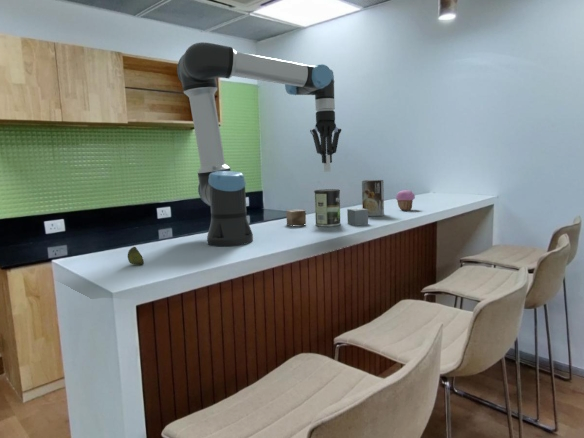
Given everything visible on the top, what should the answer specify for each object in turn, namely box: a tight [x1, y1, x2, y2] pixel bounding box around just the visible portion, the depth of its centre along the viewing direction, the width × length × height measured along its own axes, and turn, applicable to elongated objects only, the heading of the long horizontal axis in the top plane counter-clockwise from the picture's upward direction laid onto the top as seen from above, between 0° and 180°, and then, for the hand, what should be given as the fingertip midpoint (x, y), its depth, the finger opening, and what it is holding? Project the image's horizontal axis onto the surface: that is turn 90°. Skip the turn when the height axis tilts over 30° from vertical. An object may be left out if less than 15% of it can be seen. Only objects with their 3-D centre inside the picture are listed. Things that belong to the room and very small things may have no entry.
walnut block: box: [285, 208, 307, 227], centre depth 172 cm, size 6×6×6 cm
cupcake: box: [395, 189, 416, 211], centre depth 207 cm, size 9×9×10 cm
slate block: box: [346, 207, 369, 226], centre depth 169 cm, size 6×6×6 cm
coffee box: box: [361, 179, 385, 217], centre depth 192 cm, size 9×6×16 cm
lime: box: [127, 246, 145, 266], centre depth 112 cm, size 4×5×5 cm
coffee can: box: [313, 188, 341, 227], centre depth 169 cm, size 10×10×14 cm
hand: (327, 171), depth 167 cm, fingers closed
